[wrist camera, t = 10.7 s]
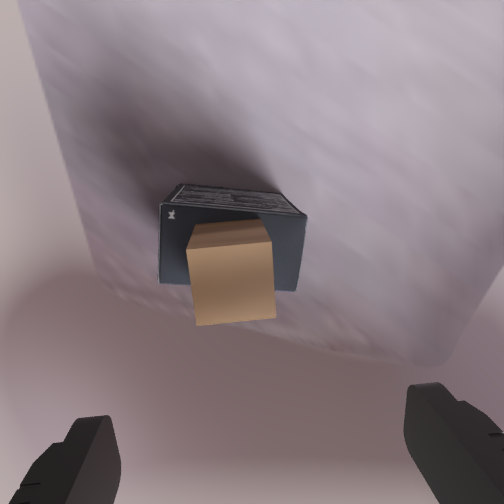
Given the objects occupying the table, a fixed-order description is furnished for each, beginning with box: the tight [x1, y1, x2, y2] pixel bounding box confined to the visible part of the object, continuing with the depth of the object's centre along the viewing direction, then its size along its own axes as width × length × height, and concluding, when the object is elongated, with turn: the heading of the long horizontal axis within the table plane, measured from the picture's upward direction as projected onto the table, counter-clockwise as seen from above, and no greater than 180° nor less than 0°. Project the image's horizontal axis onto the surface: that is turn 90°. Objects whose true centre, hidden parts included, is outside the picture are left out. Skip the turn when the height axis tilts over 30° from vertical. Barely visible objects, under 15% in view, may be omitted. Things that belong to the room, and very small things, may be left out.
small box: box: [158, 184, 308, 292], centre depth 29 cm, size 11×6×10 cm, turn 84°
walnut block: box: [186, 219, 276, 326], centre depth 21 cm, size 4×4×6 cm
